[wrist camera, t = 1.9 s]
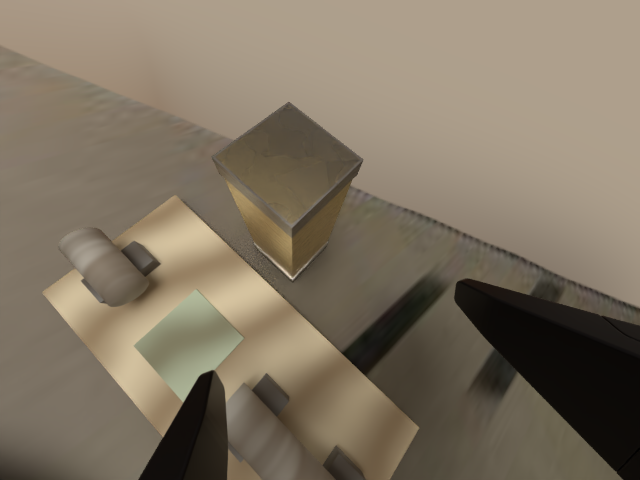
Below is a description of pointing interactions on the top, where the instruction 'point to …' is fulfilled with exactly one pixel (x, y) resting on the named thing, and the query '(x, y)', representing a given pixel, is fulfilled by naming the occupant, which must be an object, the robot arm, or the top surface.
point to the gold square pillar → (288, 185)
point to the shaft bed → (225, 351)
